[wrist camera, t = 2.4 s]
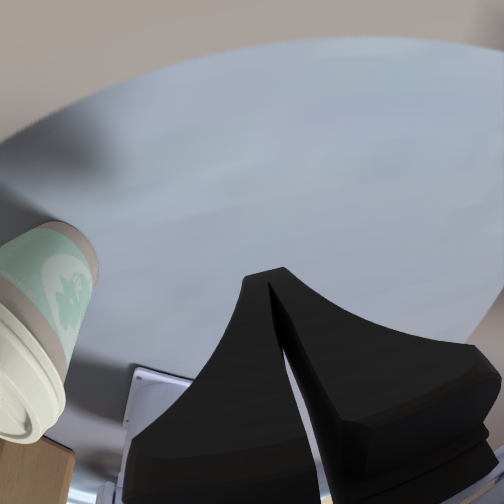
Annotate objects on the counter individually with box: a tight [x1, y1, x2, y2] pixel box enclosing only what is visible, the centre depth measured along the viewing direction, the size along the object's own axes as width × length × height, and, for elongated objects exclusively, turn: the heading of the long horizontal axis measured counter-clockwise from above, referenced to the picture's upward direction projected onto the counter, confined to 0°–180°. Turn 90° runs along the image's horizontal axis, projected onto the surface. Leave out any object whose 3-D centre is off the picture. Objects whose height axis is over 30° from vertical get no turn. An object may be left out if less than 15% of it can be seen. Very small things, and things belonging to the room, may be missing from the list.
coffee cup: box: [0, 221, 98, 444], centre depth 13 cm, size 9×8×12 cm
